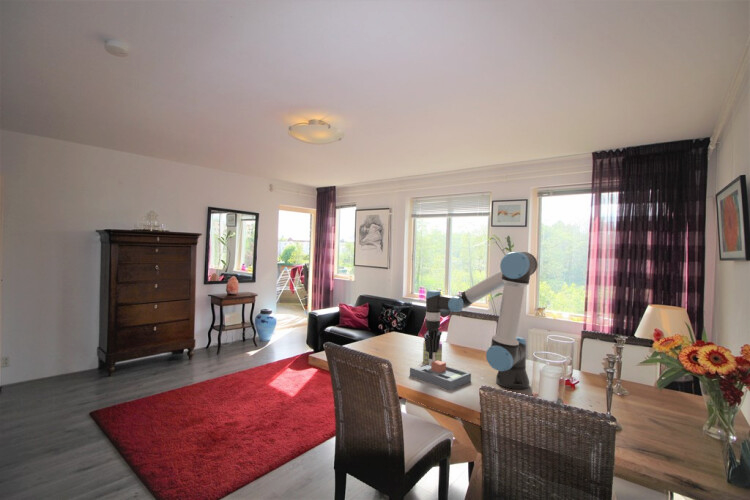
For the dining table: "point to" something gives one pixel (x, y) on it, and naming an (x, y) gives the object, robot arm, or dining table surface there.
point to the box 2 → (442, 376)
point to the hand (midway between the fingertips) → (432, 364)
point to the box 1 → (426, 354)
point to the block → (438, 366)
